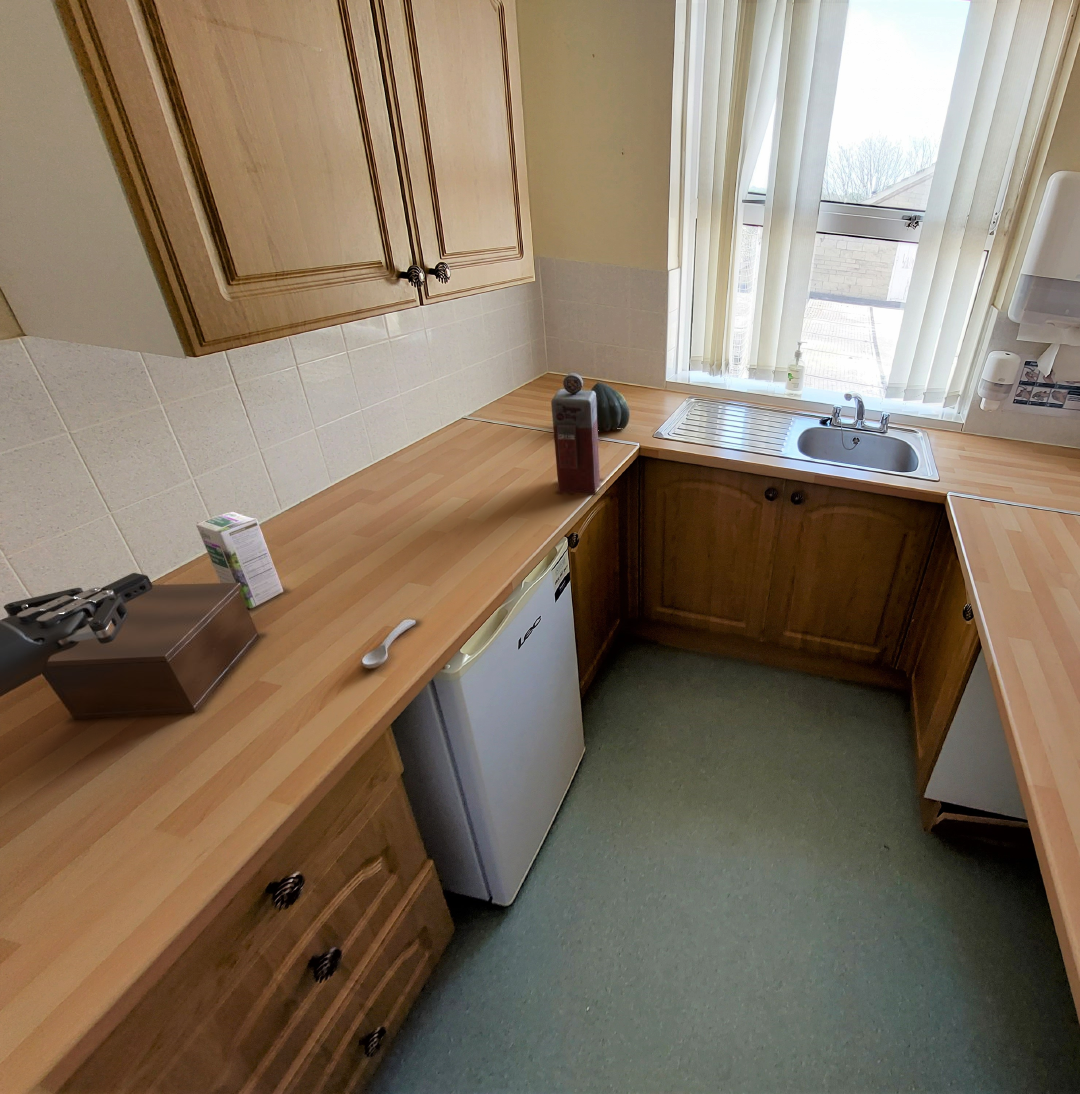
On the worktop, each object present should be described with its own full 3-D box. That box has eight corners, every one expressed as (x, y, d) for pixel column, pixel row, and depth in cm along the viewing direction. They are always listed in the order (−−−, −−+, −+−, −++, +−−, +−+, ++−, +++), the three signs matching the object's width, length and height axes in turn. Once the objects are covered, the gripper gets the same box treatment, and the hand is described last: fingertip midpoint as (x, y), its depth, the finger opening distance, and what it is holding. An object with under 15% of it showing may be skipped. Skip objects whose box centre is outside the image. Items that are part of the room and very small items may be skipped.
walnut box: (158, 640, 86) (131, 592, 82) (259, 636, 88) (239, 590, 84) (73, 719, 73) (36, 667, 68) (195, 712, 75) (167, 661, 71)
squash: (631, 421, 173) (627, 376, 176) (580, 423, 170) (577, 377, 173) (630, 439, 187) (626, 396, 190) (584, 441, 184) (580, 398, 187)
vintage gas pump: (556, 496, 138) (546, 380, 124) (564, 478, 148) (556, 368, 133) (594, 498, 139) (588, 382, 125) (599, 479, 148) (595, 370, 134)
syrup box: (226, 600, 95) (191, 524, 88) (262, 583, 100) (232, 509, 93) (250, 609, 94) (217, 532, 86) (286, 591, 98) (257, 517, 91)
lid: (135, 589, 82) (133, 585, 82) (242, 586, 85) (240, 582, 84) (36, 667, 68) (33, 662, 68) (167, 661, 71) (164, 656, 70)
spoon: (358, 671, 83) (355, 660, 82) (403, 625, 94) (401, 615, 93) (378, 673, 83) (375, 662, 82) (421, 627, 94) (419, 617, 93)
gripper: (-14, 657, 52) (178, 562, 67) (-128, 632, 54) (84, 544, 69) (31, 716, 56) (203, 613, 71) (-77, 690, 58) (113, 595, 72)
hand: (144, 579), depth 70 cm, fingers closed
